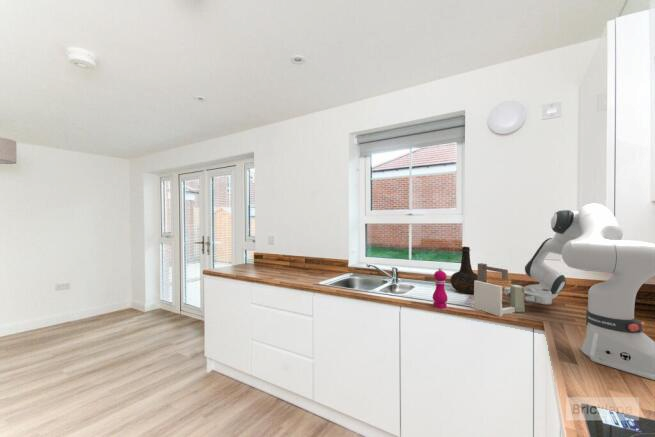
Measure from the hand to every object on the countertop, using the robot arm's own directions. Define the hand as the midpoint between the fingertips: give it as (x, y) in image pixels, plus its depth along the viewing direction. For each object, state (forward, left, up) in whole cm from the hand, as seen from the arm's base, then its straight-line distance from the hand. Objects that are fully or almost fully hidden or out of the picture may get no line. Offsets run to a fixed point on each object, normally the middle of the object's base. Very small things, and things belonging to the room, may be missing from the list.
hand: (516, 296), depth 146 cm
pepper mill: (+20, +30, -7) cm, 37 cm away
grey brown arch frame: (+6, +9, -7) cm, 13 cm away
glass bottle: (+36, -8, -7) cm, 38 cm away
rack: (+4, +10, -7) cm, 13 cm away
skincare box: (0, -1, -7) cm, 7 cm away
